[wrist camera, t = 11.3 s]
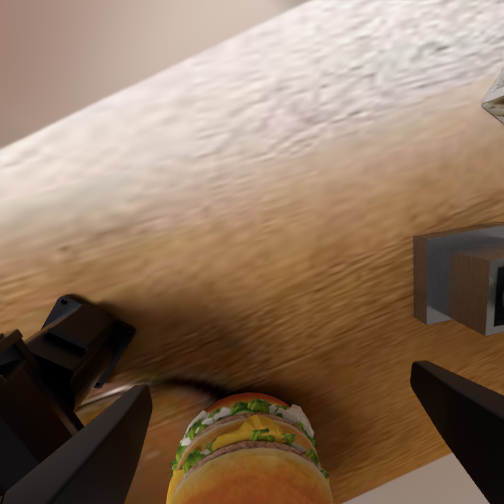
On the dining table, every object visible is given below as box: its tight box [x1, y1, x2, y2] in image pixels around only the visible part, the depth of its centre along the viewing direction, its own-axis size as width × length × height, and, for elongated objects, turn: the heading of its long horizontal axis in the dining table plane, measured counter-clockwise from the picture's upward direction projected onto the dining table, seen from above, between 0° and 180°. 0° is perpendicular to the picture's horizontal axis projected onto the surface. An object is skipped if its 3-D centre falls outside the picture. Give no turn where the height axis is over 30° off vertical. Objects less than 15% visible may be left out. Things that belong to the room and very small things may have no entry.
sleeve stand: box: [414, 222, 504, 336], centre depth 20 cm, size 8×8×6 cm
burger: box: [166, 392, 334, 504], centre depth 19 cm, size 14×14×10 cm
